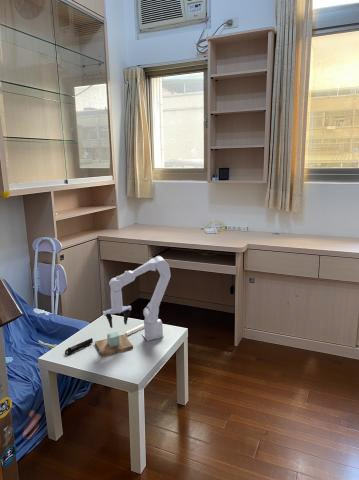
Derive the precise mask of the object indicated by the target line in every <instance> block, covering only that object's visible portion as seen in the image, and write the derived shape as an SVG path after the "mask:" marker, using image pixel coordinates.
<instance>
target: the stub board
mask: <svg viewBox="0 0 359 480" xmlns="http://www.w3.org/2000/svg"><path fill="white" fill-rule="evenodd" d="M127 337H128V336H126V335H125V334H120V335H119V338H120V345H117V346H113V347H110V346H109V344H108V341H107V338H104V339H101V340H96V341H94V345H95V347H96V349H97V351H98V352H99V354H100V355H101V358H103V357H106V356H111V355H114V354H118V353H121V352H125V351H128V350H133V349H134V346H133V343H131V341H130V340H129V339H128V338H127Z"/></svg>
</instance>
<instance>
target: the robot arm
mask: <svg viewBox="0 0 359 480" xmlns="http://www.w3.org/2000/svg"><path fill="white" fill-rule="evenodd" d="M170 268H171V267H170V265H169V263H168V262H167V261H166V260H165V259H164V258H163V257H162V256H161V255H157V256H155V257H152V258H150V259H149V260H148V261H146V262H145V263H143V264H142V265H140V266H138V267H137V268H135V269H134V270H125V271H124V273H122V274H120V275H116V277H112V278H111V279H110V280H109V282H108V285H109V287H110V305H111V308H109V309H106V310H103V311H102V316H104V317H106V319H107V321H108V324H109V327H110V329H113V316H112V315H113V314H121V313H122V315H123V323H124V325H125V326H126V325H127V324H128V319H129V316H130V314H131V311H132V306H131V305H127V306H126V305H123V304H124V303H123V292H122V288H123V287H124V286H126V285H128V284H131V283H132V282H134V281H135V279H136V278H137V277H138V276H140V275H143V274H145V273H146V272H148V271H153V272H157V271H158V274H159V275H160V276H159V278H158V281H157V283H156V286H155V289H154V292H153V294H152V297H151V298H150V301H149V302H148V304H147V305H146V307H144V309H143V310H142V314H143V316H144V320H143V324H144V328H143V329H144V330H143V331H144V333H142V337H143V338H144V339H145V340H146V341H147V342H149V341H152V340H157V339H161V338H163V337H164V334H163V333H164V332H163V331H164V330H163V321H162V319H160V318H159V312H160V305H161V302H162V300H163V298H164V297H163V296H164V295H165V292H166V289H167V287H168V285H169V282H170V278H171V277H172V275H171V269H170Z"/></svg>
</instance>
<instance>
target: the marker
mask: <svg viewBox="0 0 359 480" xmlns="http://www.w3.org/2000/svg"><path fill="white" fill-rule="evenodd" d="M142 329H144V323H142V324H140V325H138V326H136V327H134V328H132V329H130V330H127V331H124V335H125V336H126V337H128V335H129V336H131V335H133V334H134V333H136V332H139V331H141V330H142ZM132 333H133V334H132ZM130 334H131V335H130Z"/></svg>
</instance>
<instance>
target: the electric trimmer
mask: <svg viewBox="0 0 359 480" xmlns="http://www.w3.org/2000/svg"><path fill="white" fill-rule="evenodd" d="M93 340H94V338H92V337H91V338H89V339H87V340H84V341H82V342H80V343H77V344H75V345H72V346H70V347H68V348H66V349H65V351H64V355H66V356H71V354H73V353H74V352H77V351H79V350H81V349H85V348H86V347H88V346H90V345H91V344H93V342H94V341H93Z"/></svg>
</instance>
